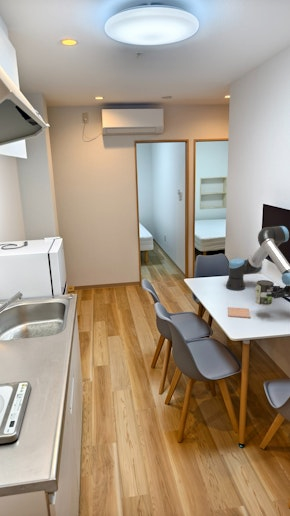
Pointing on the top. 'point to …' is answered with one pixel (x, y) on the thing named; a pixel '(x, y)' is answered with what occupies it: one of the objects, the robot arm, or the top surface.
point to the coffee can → (264, 287)
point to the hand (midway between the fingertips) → (258, 291)
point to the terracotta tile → (238, 312)
